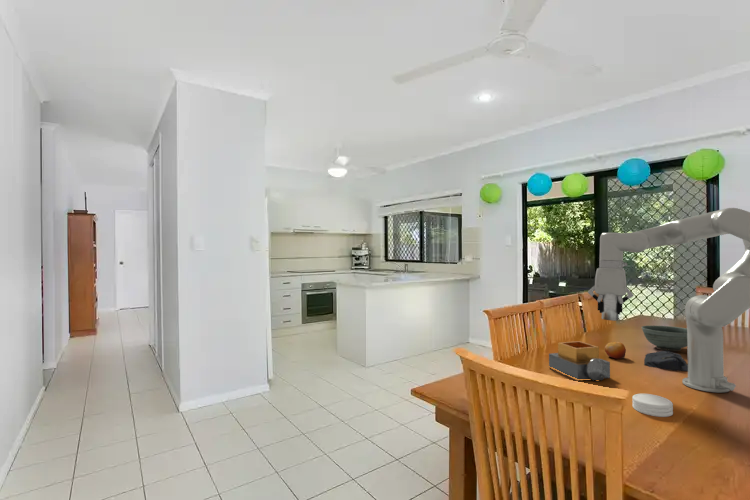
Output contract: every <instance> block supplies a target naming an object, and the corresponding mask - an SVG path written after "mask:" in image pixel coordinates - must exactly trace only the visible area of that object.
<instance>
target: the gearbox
mask: <svg viewBox="0 0 750 500" xmlns="http://www.w3.org/2000/svg"><path fill="white" fill-rule="evenodd" d="M557 351H558V352H554V353H553V352H552V353H551V352H550V353H548V367H549V366H550V367H553V368H555V369H557V370H559V371H561V372H563V373H565V374H567V375H570V376H572V377H575V378H577V379H592V380H591V381H594V380H601V381H602V380H604V378H605V379H610V378H611V362H610V361H608V360H605V359H603V358H600V349H599V346H597V345H593V344H590V343H587V342H583V341H582V340H581V341H580V340H579V341H566V342H565V341H564V342H558V343H557Z"/></svg>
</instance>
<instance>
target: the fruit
mask: <svg viewBox="0 0 750 500" xmlns="http://www.w3.org/2000/svg"><path fill="white" fill-rule="evenodd" d="M604 352H605V353H606V355H607V357H609V358H613V359H615V360H620V359H625V357H626V346H625V345H624V344H623V343H622V342H620V341H612V342H608V343H606V344H605V346H604Z"/></svg>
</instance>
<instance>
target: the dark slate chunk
mask: <svg viewBox="0 0 750 500" xmlns="http://www.w3.org/2000/svg"><path fill="white" fill-rule="evenodd" d="M643 365H644V366H647V367H649V368H656V369H661V370H662V369H663V370H666V371H667V370H668V371H676V372H677V371H678V372H688V363H687V361H686V360H685V359H684V358H683V356H682V355H681V354H679V353H677V352H674V351H668V350H661V351H656V352H649V353H646V354H645V355H644V364H643Z"/></svg>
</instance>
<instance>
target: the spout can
mask: <svg viewBox="0 0 750 500" xmlns="http://www.w3.org/2000/svg"><path fill="white" fill-rule="evenodd" d="M601 301H602V313H601V319H602V320H605V321H618V319H619V314H618V301H619V300H618V296H617V295H616V294H612V293H606V294H605V295H603V297H602V299H601Z"/></svg>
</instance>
